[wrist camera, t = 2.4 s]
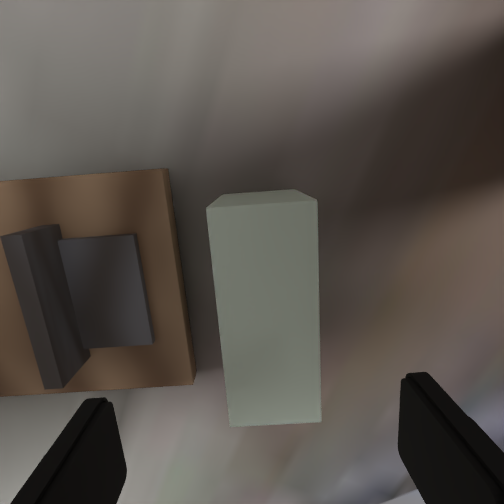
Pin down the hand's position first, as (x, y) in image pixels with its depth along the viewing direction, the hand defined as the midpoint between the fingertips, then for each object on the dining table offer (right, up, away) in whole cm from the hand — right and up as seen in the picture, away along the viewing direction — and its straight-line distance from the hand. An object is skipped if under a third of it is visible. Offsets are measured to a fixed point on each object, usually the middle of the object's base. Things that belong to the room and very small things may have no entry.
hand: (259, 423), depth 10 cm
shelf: (-14, +3, +13) cm, 20 cm away
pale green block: (+1, +4, +13) cm, 14 cm away
